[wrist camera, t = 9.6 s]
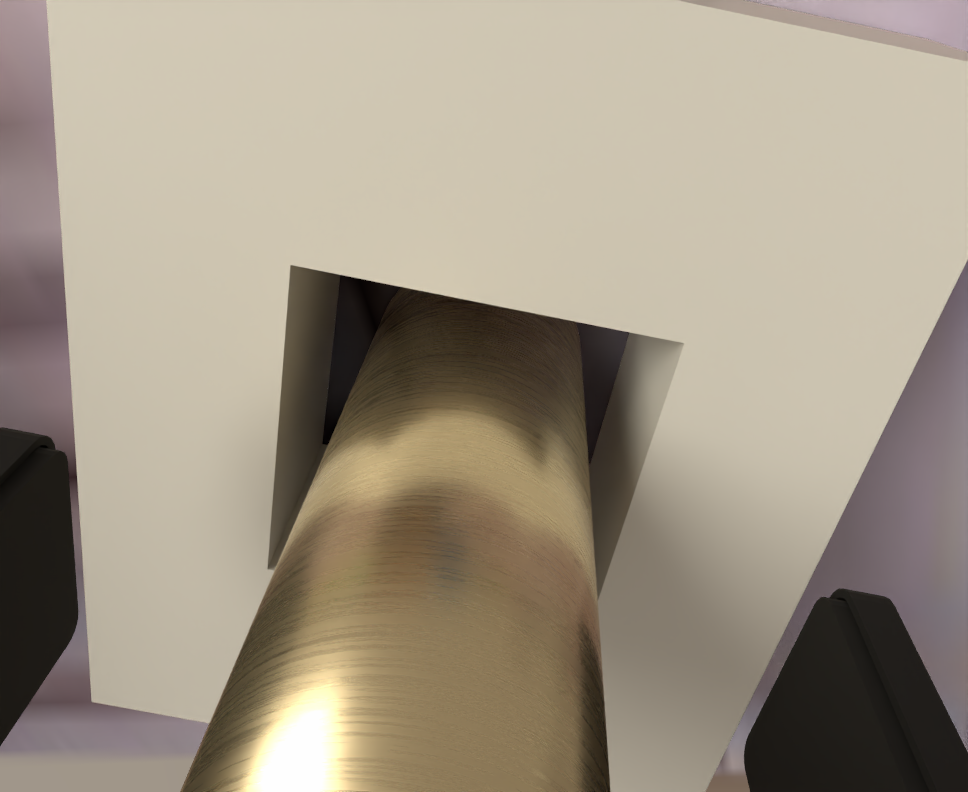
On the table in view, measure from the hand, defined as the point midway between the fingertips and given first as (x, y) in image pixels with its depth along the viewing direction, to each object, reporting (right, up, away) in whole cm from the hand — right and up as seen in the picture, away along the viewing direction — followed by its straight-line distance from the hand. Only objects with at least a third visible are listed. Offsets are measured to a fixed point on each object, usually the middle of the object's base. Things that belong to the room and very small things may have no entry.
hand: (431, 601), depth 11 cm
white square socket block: (0, +3, +6) cm, 7 cm away
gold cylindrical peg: (+1, +3, +6) cm, 7 cm away
